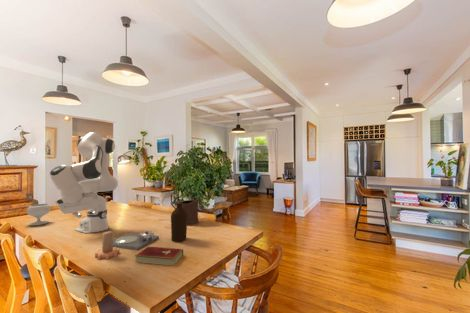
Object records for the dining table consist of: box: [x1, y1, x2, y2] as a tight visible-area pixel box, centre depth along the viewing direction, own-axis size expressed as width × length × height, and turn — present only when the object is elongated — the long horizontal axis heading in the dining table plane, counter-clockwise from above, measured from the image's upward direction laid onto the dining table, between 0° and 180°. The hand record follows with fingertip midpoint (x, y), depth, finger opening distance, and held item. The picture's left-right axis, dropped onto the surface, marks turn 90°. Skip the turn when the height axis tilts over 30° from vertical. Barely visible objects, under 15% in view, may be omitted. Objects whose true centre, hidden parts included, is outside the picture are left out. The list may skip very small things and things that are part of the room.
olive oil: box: [170, 200, 188, 243], centre depth 141 cm, size 11×11×25 cm
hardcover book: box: [134, 246, 184, 266], centre depth 114 cm, size 12×21×4 cm, turn 81°
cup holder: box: [170, 192, 200, 227], centre depth 181 cm, size 18×24×25 cm
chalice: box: [26, 203, 51, 226], centre depth 175 cm, size 14×14×15 cm
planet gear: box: [94, 230, 120, 260], centre depth 118 cm, size 11×11×12 cm
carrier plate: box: [113, 231, 160, 251], centre depth 137 cm, size 24×20×6 cm
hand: (88, 215), depth 116 cm, fingers open, 8 cm apart
